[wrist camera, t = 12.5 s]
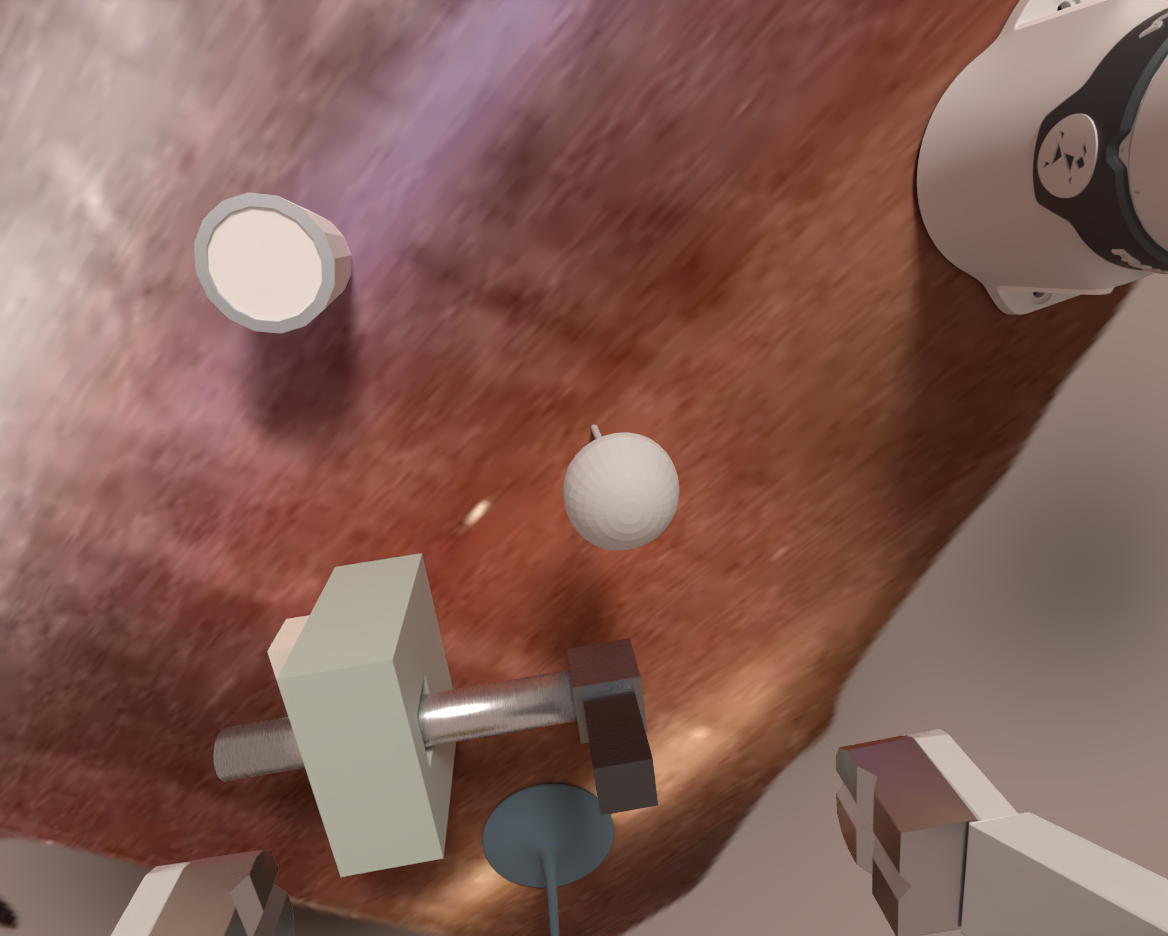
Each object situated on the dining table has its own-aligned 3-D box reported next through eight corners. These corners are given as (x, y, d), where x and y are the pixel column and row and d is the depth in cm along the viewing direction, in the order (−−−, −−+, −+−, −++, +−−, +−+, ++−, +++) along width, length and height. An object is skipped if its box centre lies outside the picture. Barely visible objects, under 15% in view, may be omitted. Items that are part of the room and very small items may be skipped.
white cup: (321, 341, 43) (286, 360, 37) (220, 267, 41) (165, 275, 35) (385, 251, 42) (362, 255, 35) (284, 172, 40) (240, 160, 34)
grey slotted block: (422, 553, 49) (392, 660, 36) (458, 715, 53) (443, 858, 41) (335, 566, 48) (276, 679, 36) (379, 729, 53) (340, 877, 41)
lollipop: (554, 379, 46) (573, 446, 31) (642, 385, 46) (700, 454, 32) (547, 469, 47) (562, 570, 33) (632, 473, 48) (682, 575, 34)
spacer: (343, 610, 49) (329, 641, 46) (365, 692, 52) (354, 728, 48) (286, 619, 49) (267, 651, 45) (311, 701, 51) (295, 738, 48)
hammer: (629, 638, 44) (661, 748, 35) (635, 690, 46) (668, 810, 36) (229, 704, 43) (149, 838, 34) (247, 757, 44) (176, 899, 35)
